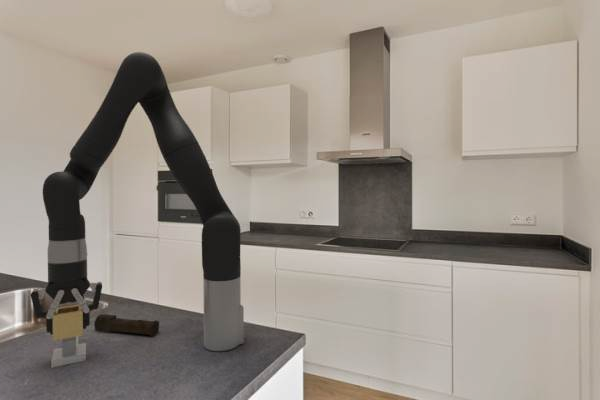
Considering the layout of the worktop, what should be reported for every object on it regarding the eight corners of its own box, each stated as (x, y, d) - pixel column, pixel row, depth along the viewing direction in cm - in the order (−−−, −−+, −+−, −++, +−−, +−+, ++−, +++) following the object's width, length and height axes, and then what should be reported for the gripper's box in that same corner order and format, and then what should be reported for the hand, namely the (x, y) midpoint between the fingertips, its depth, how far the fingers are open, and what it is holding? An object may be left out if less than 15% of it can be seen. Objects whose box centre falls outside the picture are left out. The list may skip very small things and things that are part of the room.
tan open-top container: (83, 326, 83) (83, 304, 83) (82, 335, 79) (82, 311, 78) (55, 331, 80) (54, 308, 80) (53, 340, 76) (52, 316, 75)
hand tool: (160, 332, 94) (160, 316, 94) (151, 338, 90) (151, 321, 90) (102, 326, 98) (102, 310, 98) (91, 332, 95) (91, 315, 94)
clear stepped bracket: (86, 333, 93) (86, 316, 93) (85, 360, 79) (85, 340, 78) (58, 338, 90) (57, 321, 90) (51, 367, 75) (50, 347, 75)
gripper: (25, 265, 72) (27, 344, 73) (104, 258, 79) (105, 329, 80) (31, 258, 78) (32, 331, 79) (103, 253, 86) (104, 319, 86)
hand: (69, 330), depth 79 cm, fingers closed on tan open-top container, 5 cm apart
